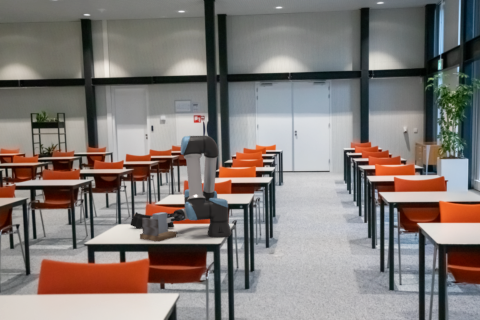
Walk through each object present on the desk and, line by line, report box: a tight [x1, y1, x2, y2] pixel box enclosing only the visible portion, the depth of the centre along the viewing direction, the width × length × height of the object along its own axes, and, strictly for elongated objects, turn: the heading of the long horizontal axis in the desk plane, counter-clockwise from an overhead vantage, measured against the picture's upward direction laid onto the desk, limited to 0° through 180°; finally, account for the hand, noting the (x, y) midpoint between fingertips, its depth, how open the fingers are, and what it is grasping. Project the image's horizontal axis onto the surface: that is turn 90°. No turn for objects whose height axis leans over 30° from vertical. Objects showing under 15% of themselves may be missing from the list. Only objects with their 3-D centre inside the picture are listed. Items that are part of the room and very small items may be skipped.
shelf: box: [139, 218, 178, 242], centre depth 327 cm, size 16×16×13 cm
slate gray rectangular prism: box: [152, 212, 169, 234], centre depth 328 cm, size 5×8×12 cm, turn 145°
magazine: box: [129, 212, 175, 229], centre depth 358 cm, size 17×3×30 cm
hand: (158, 219), depth 327 cm, fingers open, 13 cm apart
